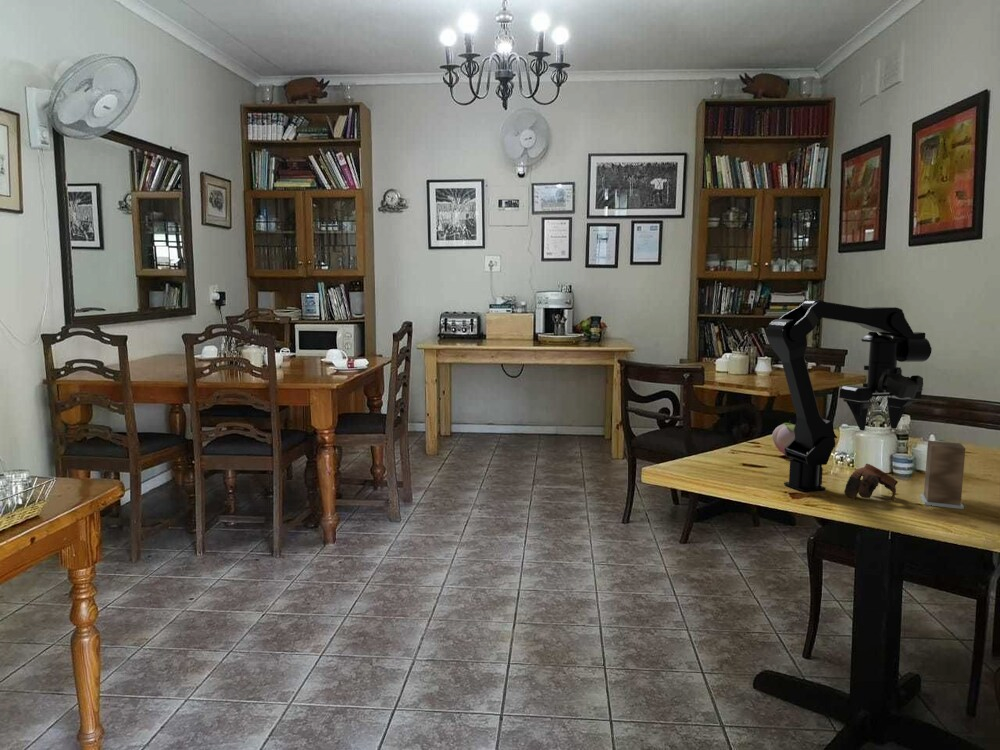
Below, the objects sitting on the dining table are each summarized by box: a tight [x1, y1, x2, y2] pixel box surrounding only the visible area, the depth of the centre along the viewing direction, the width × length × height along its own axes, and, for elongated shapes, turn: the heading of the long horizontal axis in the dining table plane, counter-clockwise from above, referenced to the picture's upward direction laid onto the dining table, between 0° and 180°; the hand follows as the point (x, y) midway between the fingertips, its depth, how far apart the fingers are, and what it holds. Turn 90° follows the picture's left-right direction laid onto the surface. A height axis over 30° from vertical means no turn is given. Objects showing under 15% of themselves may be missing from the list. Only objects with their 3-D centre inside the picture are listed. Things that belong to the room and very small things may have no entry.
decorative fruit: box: [771, 420, 796, 456], centre depth 196 cm, size 9×8×10 cm
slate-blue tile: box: [920, 493, 964, 510], centre depth 154 cm, size 7×7×1 cm
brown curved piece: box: [843, 463, 899, 501], centre depth 156 cm, size 12×10×8 cm
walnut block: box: [923, 440, 966, 505], centre depth 153 cm, size 6×6×12 cm
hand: (877, 429), depth 167 cm, fingers open, 9 cm apart
